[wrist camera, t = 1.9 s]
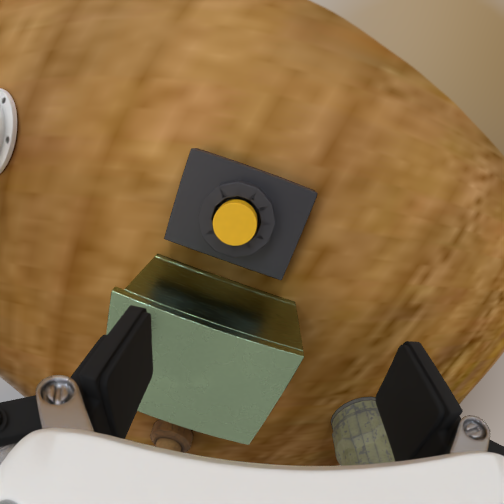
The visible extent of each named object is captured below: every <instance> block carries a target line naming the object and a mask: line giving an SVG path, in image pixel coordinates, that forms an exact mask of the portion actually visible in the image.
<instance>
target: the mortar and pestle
mask: <svg viewBox="0 0 504 504" xmlns="http://www.w3.org/2000/svg"><path fill="white" fill-rule="evenodd" d="M150 438H151V440H152V442H153V443H154V444H155V447H159V448H163V449H168V450H173V451H178V452H183V453H184V452H187V451H188V450H189V449H190V447H191V443H192V440H193V435H192V432H191V431H190V429H188V428H184V427H181V426H178V425H175V424H172V423H169V422H166V421H164V420H158V421H156V422H155V424H154V426H153V429H152V431H151V434H150Z"/></svg>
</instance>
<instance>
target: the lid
mask: <svg viewBox="0 0 504 504" xmlns="http://www.w3.org/2000/svg"><path fill="white" fill-rule="evenodd" d="M130 305H133V306H138V307H142V308H146V310H147V313H150V314H151V329H152V355H153V375H152V378H151V381H150V383H149V385H148V387H147V389H146V392H145V394H144V396H143V398H142V400H141V403H140V405H139V407H138V409H137V411H139V412H142V413H145V414H147V415H150V416H153V417H155V418H158V419H161V420H164V421H166V422H169V423H172V424H175V425H178V426H181V427H184V428H188V429H191V430H194V431H197V432H201V433H204V434H208V435H211V436H215V437H219V438H222V439H226V440H230V441H234V442H238V443H243V444H247V445H249V444H250V442H251V441H252V439H253V438H254V436H255V435H256V433H257V432H258V430H259V429H260V427H261V426H262V424H263V423H264V421H265V420H266V418H267V417H268V415H269V414H270V412H271V411H272V409H273V407H274V406H275V404H276V403H277V401H278V400H279V398H280V396H281V395H282V393H283V391H284V390H285V388H286V387H287V385H288V383H289V382H290V380H291V378H292V377H293V375H294V373H295V372H296V370H297V368H298V367H299V365H300V363H301V361H302V360H303V358H304V352H303V351H301V350H297V349H294V348H290V347H287V346H283V345H280V344H276V343H273V342H270V341H266V340H263V339H260V338H257V337H254V336H250V335H247V334H244V333H241V332H238V331H235V330H232V329H229V328H226V327H223V326H220V325H217V324H214V323H211V322H208V321H205V320H202V319H199V318H197V317H194V316H191V315H188V314H185V313H183V312H180V311H177V310H174V309H172V308H169V307H166V306H164V305H161V304H158V303H156V302H153V301H151V300H148V299H146V298H143V297H140V296H138V295H135V294H133V293H130V292H128V291H126V290H123V289H121V288H118V287H115V288H114V289H113V290H112V293H111V300H110V307H109V315H108V324H107V333H106V335H108V333H109V332H110V331H111V329H112V328H113V327H114V325H115V324H116V323H117V322H118V320H119V319H120V318H121V316H122V315H123V314H124V313H125V311H126V310H127V309H128V307H129V306H130Z"/></svg>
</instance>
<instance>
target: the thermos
mask: <svg viewBox="0 0 504 504" xmlns="http://www.w3.org/2000/svg"><path fill="white" fill-rule="evenodd" d="M331 425H332V429H333V434H332V436H333V442H334V447H335V453H336V458H337V461H338V462H339V464H340V465H341V466H346V465H365V464H378V463H389V462H395V459H394V456H393V453H392V449H391V446H390V443H389V440H388V437H387V434H386V431H385V428H384V425H383V422H382V419H381V416H380V414H379V411H378V408H377V405H376V398H375V397H363V398H359V399H355V400H352V401H350V402H348V403H346V404H344V405H343V406H341V407H340V408H339V409H337V410H336V412H335V413H334V414H333V416H332V419H331Z"/></svg>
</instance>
